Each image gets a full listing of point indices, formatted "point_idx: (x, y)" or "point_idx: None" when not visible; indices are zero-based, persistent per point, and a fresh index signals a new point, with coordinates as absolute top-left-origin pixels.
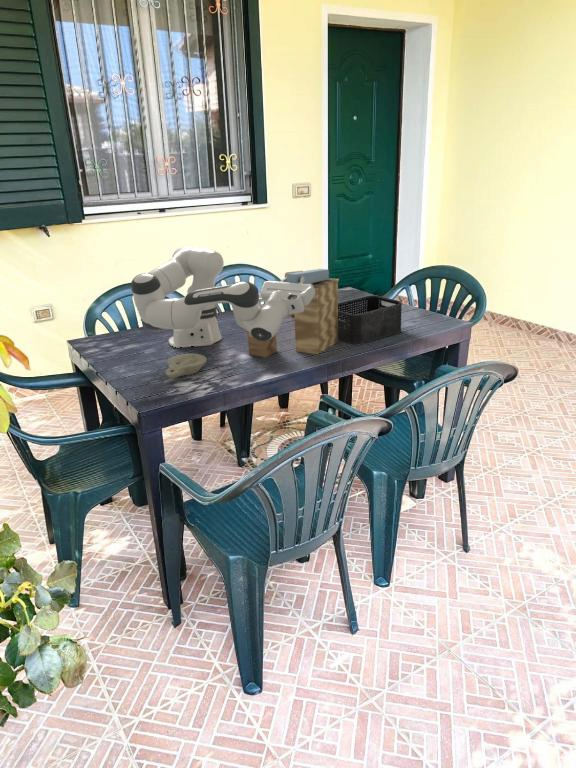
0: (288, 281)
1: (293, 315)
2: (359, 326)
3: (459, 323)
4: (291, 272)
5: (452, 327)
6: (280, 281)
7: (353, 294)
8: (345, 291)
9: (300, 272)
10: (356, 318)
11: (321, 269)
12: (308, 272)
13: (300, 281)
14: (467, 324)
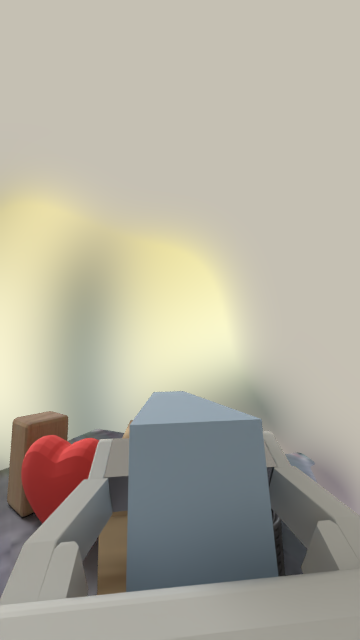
0: (152, 533)
1: (25, 514)
2: (282, 560)
3: (298, 460)
4: (28, 416)
5: (308, 471)
6: (20, 569)
7: (110, 436)
8: (97, 433)
9: (170, 402)
10: (276, 536)
11: (168, 392)
12: (201, 399)
13: (318, 502)
14: (309, 460)
